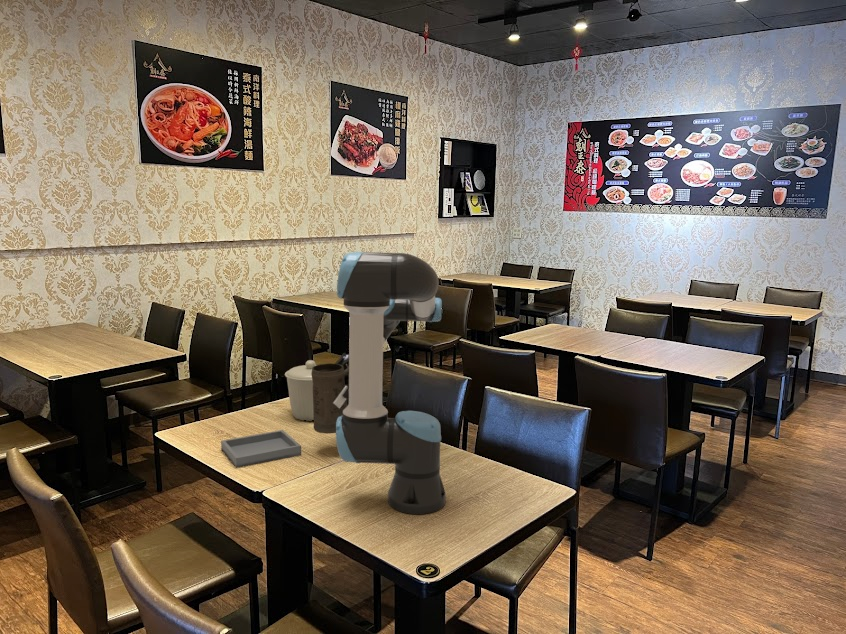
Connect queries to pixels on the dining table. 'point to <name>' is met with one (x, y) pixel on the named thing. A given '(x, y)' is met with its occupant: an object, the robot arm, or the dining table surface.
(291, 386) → the canister
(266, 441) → the tray
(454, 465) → the dining table surface
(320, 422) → the beer stein
